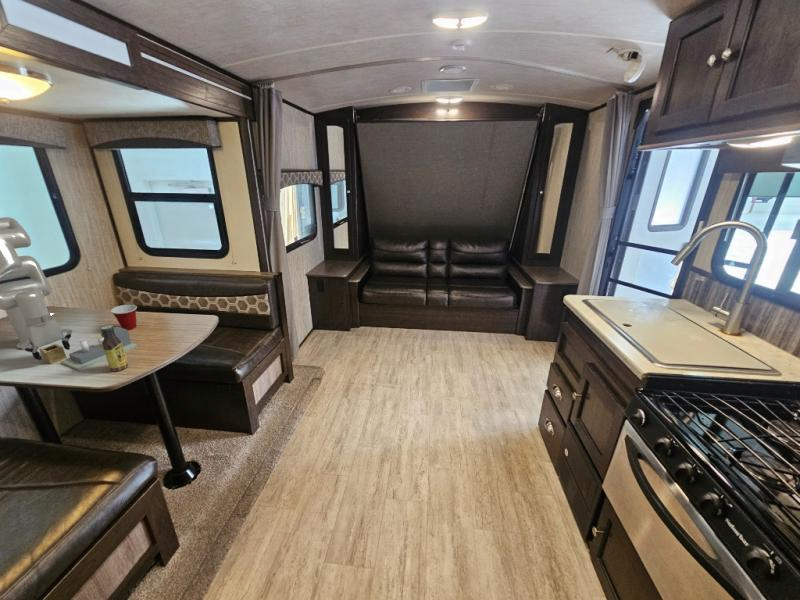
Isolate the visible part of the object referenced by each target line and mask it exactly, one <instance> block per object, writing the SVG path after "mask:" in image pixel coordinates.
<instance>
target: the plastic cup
mask: <svg viewBox="0 0 800 600" xmlns="http://www.w3.org/2000/svg"><path fill="white" fill-rule="evenodd" d="M137 308H138V306H137V305H135V304H123V305H117V306H114V307H113V308H112V309H110V313H112V314H113V315H114V317H115V318H116V321H117V322H118V325H120V326H121V327H120V328H123V329H126V330H127V331H131V330H135V329H136V328H137V326H138V325H137V313H136V312H137Z"/></svg>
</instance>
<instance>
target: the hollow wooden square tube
mask: <svg viewBox="0 0 800 600" xmlns="http://www.w3.org/2000/svg"><path fill="white" fill-rule="evenodd" d="M64 349H65V348H64V346H63V345H59V344H58V343H55V344H51V345H49V346H46V347H43V348H40V349H39V353H40V356H41V358H42V360H43V362H45V363H47V364H50V365H53V364H55V363H58V362H61V361H62V360H65V359H67V358H68V357H67V355H66V352H65V350H64Z"/></svg>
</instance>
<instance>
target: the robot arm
mask: <svg viewBox="0 0 800 600" xmlns="http://www.w3.org/2000/svg"><path fill="white" fill-rule="evenodd" d="M31 245H32V240H31V237H30V236H29V234H28V232H27V231H26V229H24V227H23V226H22V225H21V224H20V223H19V222H18V220H16V219H15V218H13V217H9V216H8V217H0V281H6V280H12V279H18V278H24V277H29V278H27V279H26V278H25V279H21V280H14V281H7V282H3V283H0V310H3V311H5V313H6V315H7V317H8V319H9V321H10V324H11V326H12V328H13V330H14V332H15V334H16V336H17V339H18V340H19V342H18V343H17V344H16V347H18V348H17V349H19V348H21V349H20V350H23V351H25V352H29V353H31V354H32V356H33V358H34V359H35V360H38V361H42V360H43V357H42V355H41V353H40V351H38V350H39V348H41V347H43V346H46V345H49V344H53V343H54V342H55V343H56V342H58V341H60V340H61V343H62V347H63V349H65V350H68V351H70V350H71V349H70V348H71V345H70V342H69V341H70V339H71V337H72V333H73V329H69V328H61V327H60V326H59V324H58V322H57V321H56V320H55V319H54V318H53V317H54V316H56V315H55V313H54V312H49V310H48V308H47V305H46V303H45V300H44V299H45V297H47V296H49V295H51V293H52V289H51V286H50V283H49V282H48V279H47V277H46V275H45V274H44V271H43V269H42V267H41V265H40V264H39V261H37V259H36V258H34V257H33V256H31V255H18V253H17V251H16V249H23V248H29V247H30V246H31ZM64 333H66V334H65V335H64Z"/></svg>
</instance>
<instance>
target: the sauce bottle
mask: <svg viewBox="0 0 800 600" xmlns="http://www.w3.org/2000/svg"><path fill="white" fill-rule="evenodd" d="M100 332H102V333H103V337H104V340H103V342H102V343H101V345H103V348H104V352H105V355H106V358H107V359H106V361H107V364H108V366H109V368H110V370H111V371H112V372H119V371H124V370H125V369H127V368H128V367H129V361H128V357H127V354H126V351H124V348H123V345H122V342H121V341H120V340H119V338H118V337H117V336H116V335H115V333H114V326H113V325H104V326H102V327H100Z"/></svg>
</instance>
